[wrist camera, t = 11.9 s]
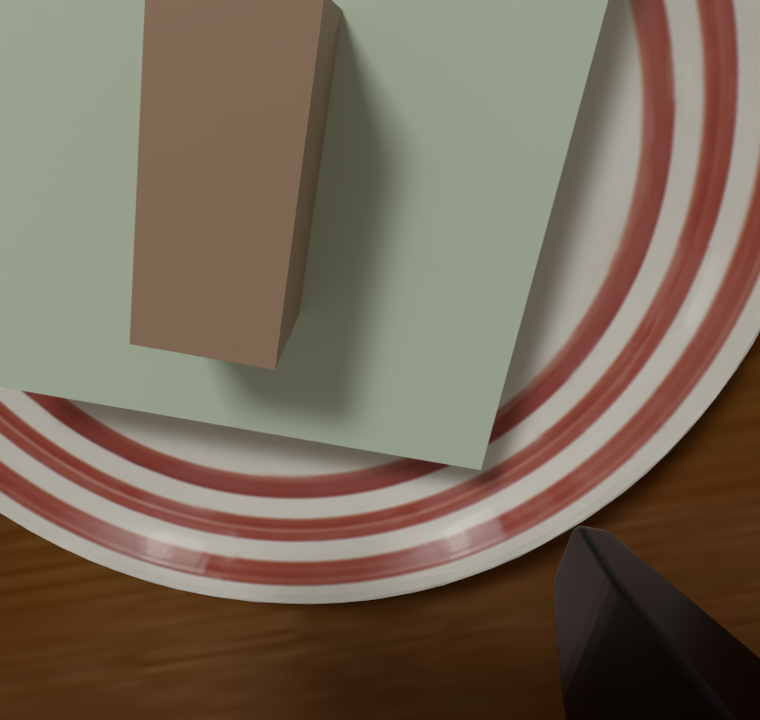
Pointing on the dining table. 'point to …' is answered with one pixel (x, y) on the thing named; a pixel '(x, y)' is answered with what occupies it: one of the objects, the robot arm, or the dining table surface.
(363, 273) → the cover
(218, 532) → the dinner plate
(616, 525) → the dining table surface
